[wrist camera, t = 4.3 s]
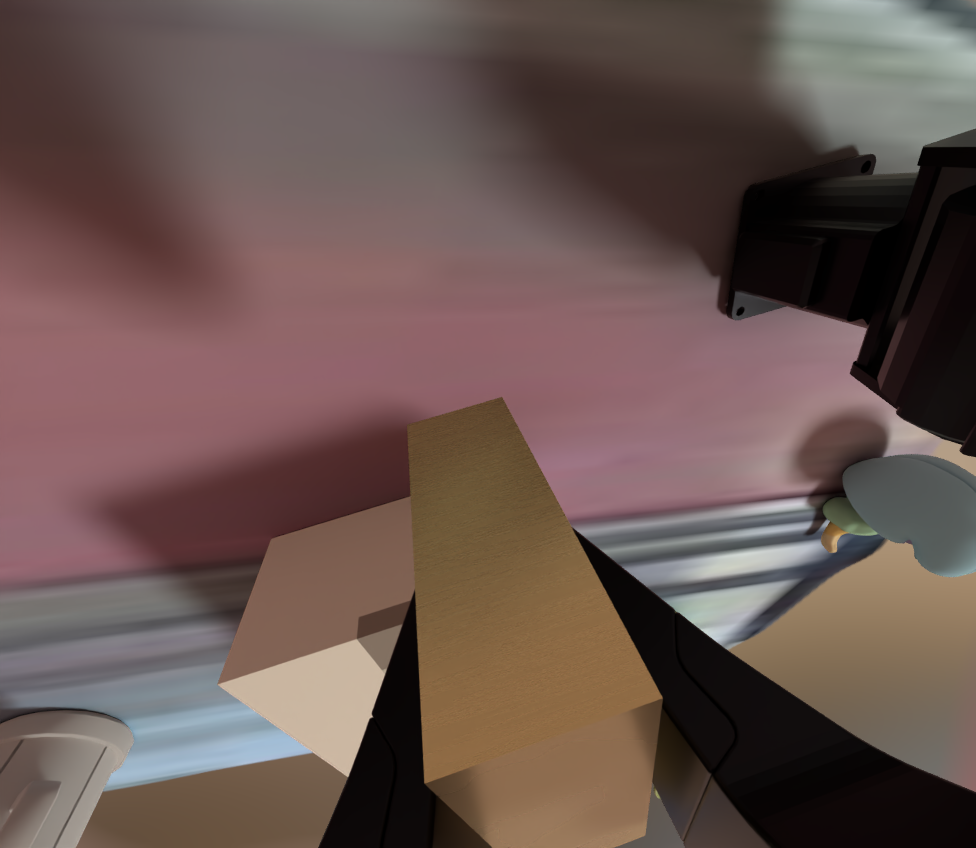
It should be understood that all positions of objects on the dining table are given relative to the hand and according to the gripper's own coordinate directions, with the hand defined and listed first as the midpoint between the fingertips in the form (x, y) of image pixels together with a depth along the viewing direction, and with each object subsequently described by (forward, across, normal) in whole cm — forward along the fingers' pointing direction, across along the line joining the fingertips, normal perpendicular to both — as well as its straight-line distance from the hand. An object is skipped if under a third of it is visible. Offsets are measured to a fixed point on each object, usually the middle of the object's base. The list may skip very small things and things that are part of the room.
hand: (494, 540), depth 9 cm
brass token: (+1, 0, 0) cm, 1 cm away
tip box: (+12, +5, +15) cm, 20 cm away
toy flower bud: (+12, -31, +22) cm, 40 cm away
